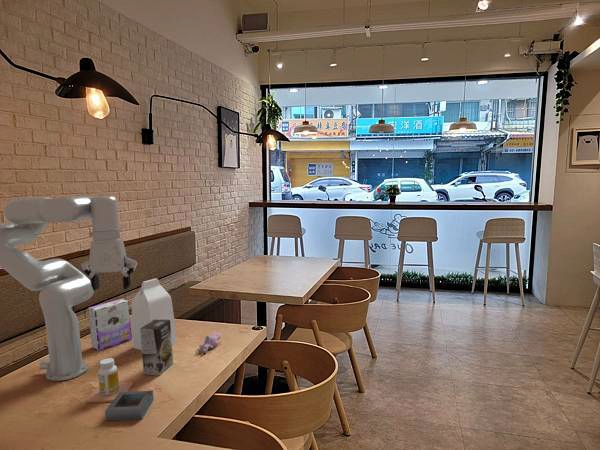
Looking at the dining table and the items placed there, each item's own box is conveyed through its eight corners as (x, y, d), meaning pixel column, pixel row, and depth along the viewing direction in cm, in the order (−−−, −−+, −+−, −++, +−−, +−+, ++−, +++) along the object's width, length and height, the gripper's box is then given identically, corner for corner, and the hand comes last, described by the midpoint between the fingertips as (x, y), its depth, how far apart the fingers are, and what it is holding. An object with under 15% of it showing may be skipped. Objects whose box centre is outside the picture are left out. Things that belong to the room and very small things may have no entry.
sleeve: (106, 420, 111) (105, 410, 111) (120, 401, 121) (119, 391, 120) (142, 419, 111) (141, 409, 111) (153, 400, 121) (152, 390, 120)
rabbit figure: (207, 360, 150) (227, 338, 163) (204, 345, 148) (225, 324, 162) (192, 357, 152) (214, 336, 165) (190, 343, 150) (212, 323, 164)
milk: (152, 353, 153) (147, 285, 150) (132, 347, 159) (127, 282, 156) (177, 342, 164) (172, 278, 160) (157, 336, 170) (153, 275, 166)
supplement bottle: (120, 385, 129) (118, 356, 128) (117, 394, 124) (114, 363, 122) (102, 388, 128) (99, 358, 127) (97, 397, 122) (94, 366, 121)
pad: (86, 402, 121) (85, 400, 121) (101, 385, 131) (101, 383, 130) (120, 401, 121) (120, 399, 121) (133, 384, 131) (133, 382, 131)
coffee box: (160, 376, 136) (156, 329, 134) (142, 374, 137) (139, 328, 135) (174, 363, 145) (171, 319, 143) (157, 362, 146) (154, 318, 144)
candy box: (125, 336, 171) (122, 298, 169) (132, 339, 167) (129, 300, 166) (91, 347, 161) (87, 306, 159) (98, 351, 157) (94, 309, 155)
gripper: (72, 238, 125) (78, 293, 127) (129, 236, 125) (134, 291, 127) (84, 234, 132) (89, 286, 135) (138, 233, 133) (142, 284, 135)
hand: (111, 288), depth 131 cm, fingers open, 9 cm apart
